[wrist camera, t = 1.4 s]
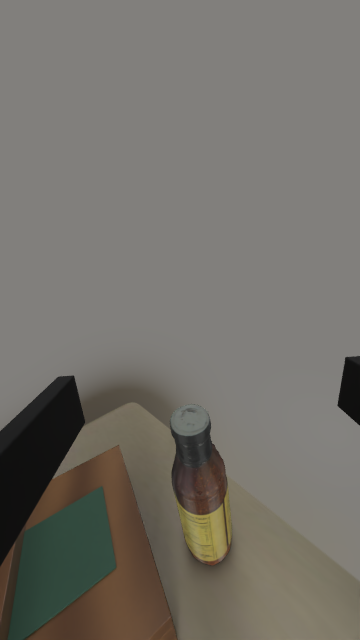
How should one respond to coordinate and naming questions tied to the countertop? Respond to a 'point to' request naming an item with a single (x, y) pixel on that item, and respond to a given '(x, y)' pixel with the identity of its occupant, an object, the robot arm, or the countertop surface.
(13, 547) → the brown wooden box
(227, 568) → the countertop surface
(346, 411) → the robot arm
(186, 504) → the sauce bottle
